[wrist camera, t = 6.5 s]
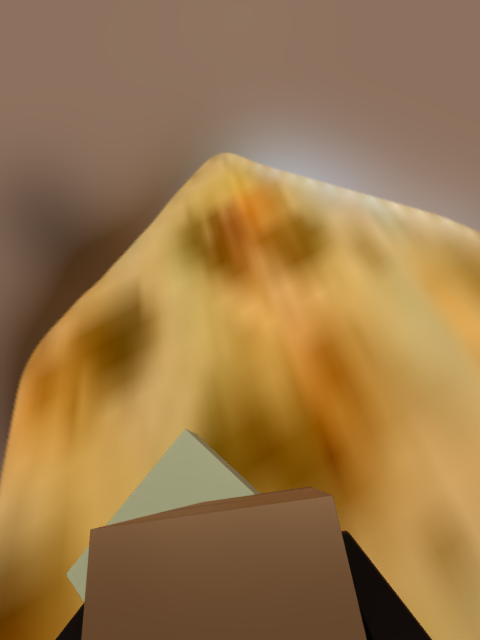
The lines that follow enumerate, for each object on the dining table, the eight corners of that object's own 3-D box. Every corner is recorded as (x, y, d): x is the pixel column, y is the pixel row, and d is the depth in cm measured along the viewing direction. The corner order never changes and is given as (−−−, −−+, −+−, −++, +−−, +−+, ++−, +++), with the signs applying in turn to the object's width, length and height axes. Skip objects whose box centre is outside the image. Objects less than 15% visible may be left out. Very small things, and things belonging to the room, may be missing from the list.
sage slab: (205, 717, 16) (189, 764, 14) (95, 561, 20) (65, 574, 18) (314, 542, 19) (317, 553, 16) (197, 434, 23) (185, 428, 20)
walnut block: (341, 637, 12) (444, 971, 4) (211, 651, 12) (52, 981, 4) (310, 486, 14) (332, 495, 6) (202, 502, 14) (90, 530, 6)
